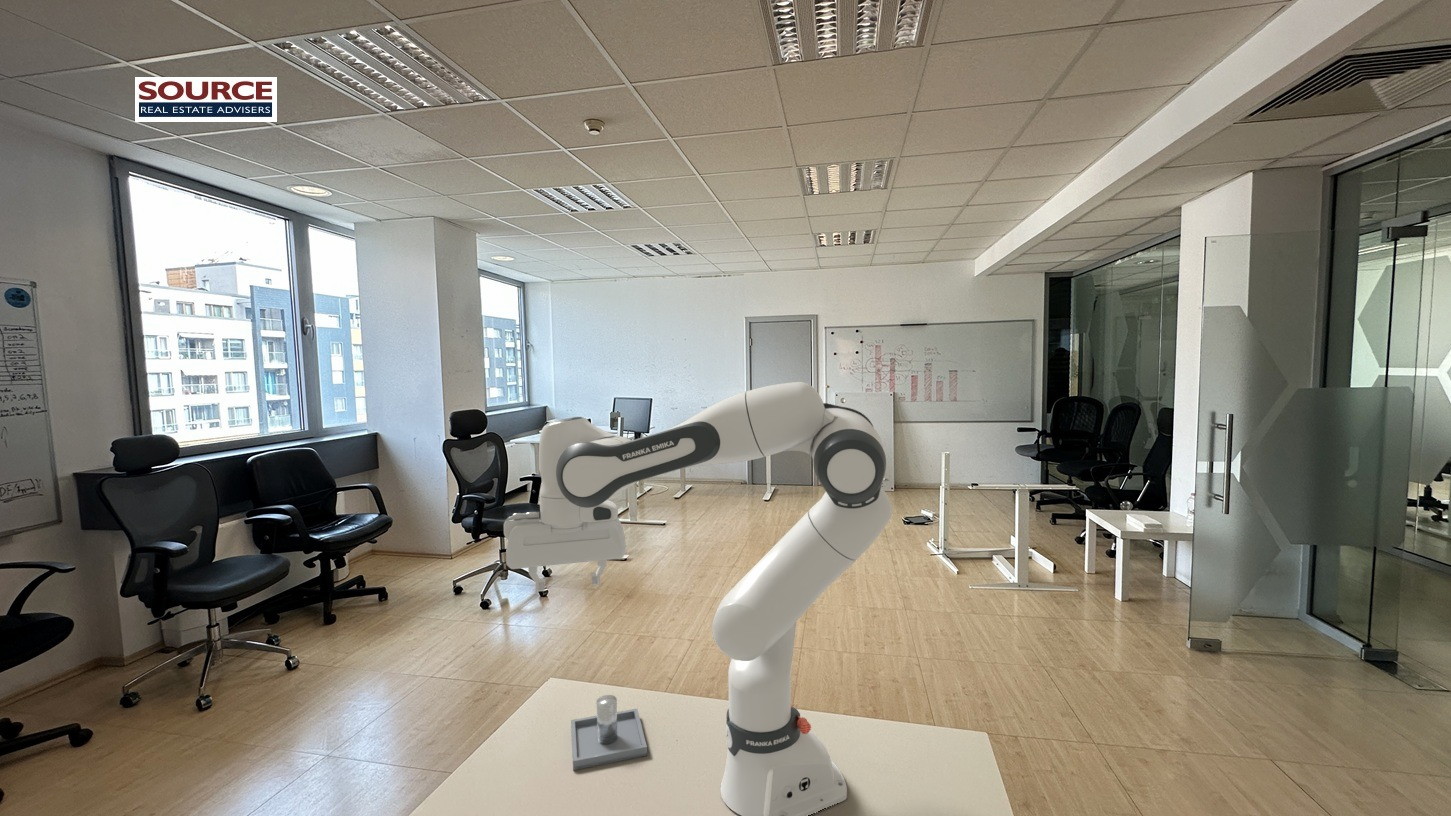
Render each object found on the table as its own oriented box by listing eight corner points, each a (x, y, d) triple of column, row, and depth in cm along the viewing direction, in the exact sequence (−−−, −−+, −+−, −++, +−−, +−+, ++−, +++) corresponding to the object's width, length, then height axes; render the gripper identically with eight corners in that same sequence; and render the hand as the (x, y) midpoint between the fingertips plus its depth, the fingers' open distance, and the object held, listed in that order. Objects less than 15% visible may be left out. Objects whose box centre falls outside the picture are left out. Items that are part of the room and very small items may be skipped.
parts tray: (637, 716, 125) (637, 708, 125) (647, 755, 112) (646, 746, 112) (571, 728, 121) (570, 720, 121) (573, 770, 108) (572, 761, 108)
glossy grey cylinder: (616, 731, 119) (615, 693, 119) (618, 742, 115) (617, 704, 115) (596, 734, 118) (595, 696, 118) (598, 746, 114) (597, 707, 114)
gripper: (501, 518, 94) (504, 600, 95) (626, 509, 100) (628, 586, 101) (504, 510, 101) (507, 587, 101) (622, 501, 106) (623, 575, 107)
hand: (568, 587), depth 101 cm, fingers open, 8 cm apart
